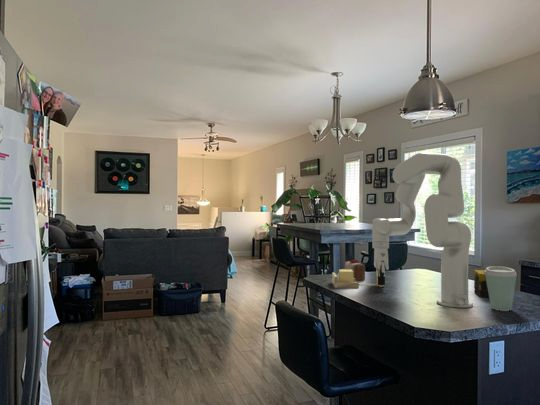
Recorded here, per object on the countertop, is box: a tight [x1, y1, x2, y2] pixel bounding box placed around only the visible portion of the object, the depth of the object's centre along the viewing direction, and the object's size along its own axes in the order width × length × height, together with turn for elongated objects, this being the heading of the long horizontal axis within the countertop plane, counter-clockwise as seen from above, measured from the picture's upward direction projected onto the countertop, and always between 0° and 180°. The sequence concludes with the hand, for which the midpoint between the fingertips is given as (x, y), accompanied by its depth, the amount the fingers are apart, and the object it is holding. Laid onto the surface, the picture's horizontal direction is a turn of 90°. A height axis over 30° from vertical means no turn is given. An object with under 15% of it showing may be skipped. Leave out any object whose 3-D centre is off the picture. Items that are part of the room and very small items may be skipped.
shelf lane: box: [331, 272, 360, 289], centre depth 189 cm, size 11×11×5 cm
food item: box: [344, 259, 366, 282], centre depth 208 cm, size 14×8×10 cm, turn 11°
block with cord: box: [338, 268, 385, 288], centre depth 189 cm, size 6×20×7 cm, turn 87°
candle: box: [473, 269, 490, 299], centre depth 170 cm, size 10×10×10 cm
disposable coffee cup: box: [484, 265, 518, 312], centre depth 147 cm, size 11×11×15 cm
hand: (380, 283), depth 188 cm, fingers closed on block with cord, 3 cm apart
